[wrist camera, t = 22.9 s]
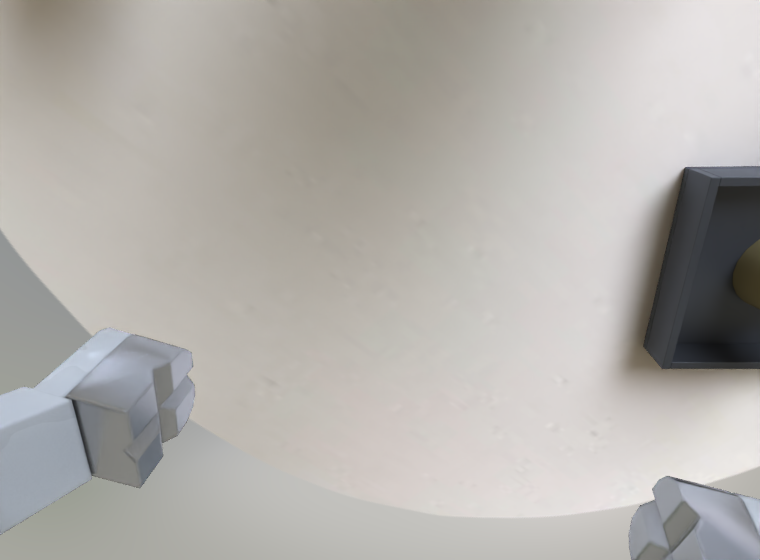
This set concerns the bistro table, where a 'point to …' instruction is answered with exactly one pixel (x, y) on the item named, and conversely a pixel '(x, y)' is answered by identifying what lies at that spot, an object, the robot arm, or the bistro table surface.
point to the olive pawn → (748, 276)
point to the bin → (708, 274)
